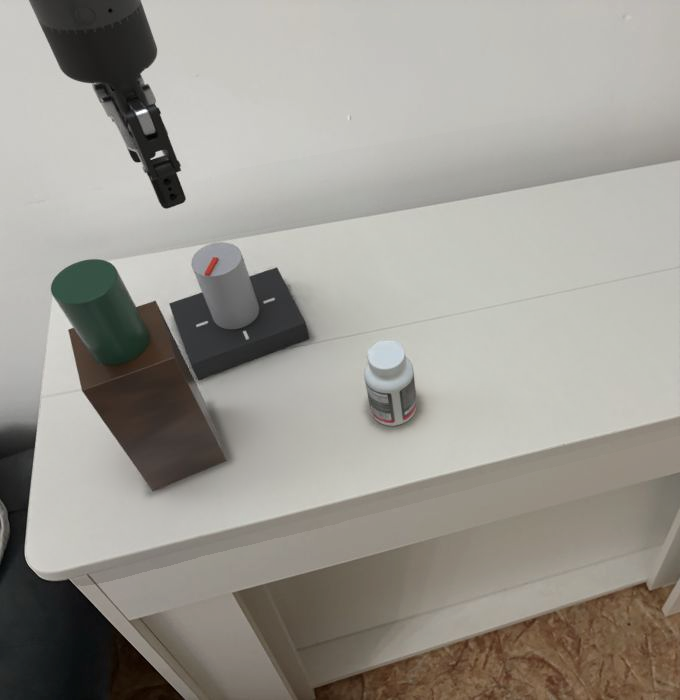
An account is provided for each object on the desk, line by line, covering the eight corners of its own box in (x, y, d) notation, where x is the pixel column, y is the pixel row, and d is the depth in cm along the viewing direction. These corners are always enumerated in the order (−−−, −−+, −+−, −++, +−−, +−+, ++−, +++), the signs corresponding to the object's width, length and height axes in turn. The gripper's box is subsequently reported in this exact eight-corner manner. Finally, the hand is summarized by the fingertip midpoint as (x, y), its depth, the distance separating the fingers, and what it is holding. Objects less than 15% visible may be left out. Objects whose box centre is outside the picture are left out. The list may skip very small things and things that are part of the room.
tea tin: (95, 373, 62) (55, 312, 56) (86, 334, 65) (46, 271, 59) (155, 352, 64) (122, 290, 58) (143, 314, 67) (111, 251, 61)
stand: (152, 491, 75) (81, 391, 61) (137, 434, 79) (67, 329, 66) (227, 460, 77) (175, 357, 63) (207, 407, 82) (155, 300, 68)
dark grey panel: (198, 380, 84) (190, 363, 82) (176, 319, 91) (168, 302, 88) (309, 338, 89) (305, 321, 86) (281, 283, 95) (276, 266, 92)
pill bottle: (407, 383, 84) (401, 328, 77) (424, 417, 81) (419, 364, 73) (363, 398, 83) (353, 344, 75) (379, 433, 80) (370, 381, 72)
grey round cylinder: (222, 293, 89) (201, 237, 82) (265, 298, 89) (248, 242, 82) (205, 326, 86) (182, 271, 79) (250, 332, 85) (230, 276, 78)
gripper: (166, 26, 51) (225, 205, 64) (110, -39, 59) (172, 132, 71) (59, 54, 49) (142, 236, 61) (15, -18, 56) (97, 156, 69)
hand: (158, 180), depth 66 cm, fingers open, 8 cm apart
